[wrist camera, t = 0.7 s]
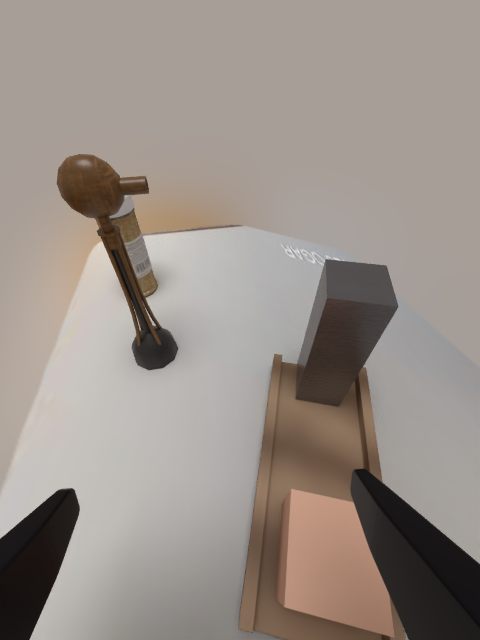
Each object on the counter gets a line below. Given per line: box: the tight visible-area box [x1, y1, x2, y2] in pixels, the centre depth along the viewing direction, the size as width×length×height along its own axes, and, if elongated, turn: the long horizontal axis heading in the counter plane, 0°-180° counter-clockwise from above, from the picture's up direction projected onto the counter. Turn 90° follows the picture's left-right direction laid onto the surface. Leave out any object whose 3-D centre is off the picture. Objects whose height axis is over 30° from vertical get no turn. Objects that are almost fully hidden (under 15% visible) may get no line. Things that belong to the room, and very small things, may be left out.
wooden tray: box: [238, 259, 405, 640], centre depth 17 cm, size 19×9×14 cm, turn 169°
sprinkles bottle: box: [95, 195, 157, 297], centre depth 34 cm, size 5×5×13 cm
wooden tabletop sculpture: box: [57, 154, 178, 370], centre depth 24 cm, size 6×5×20 cm
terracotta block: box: [275, 489, 395, 638], centre depth 16 cm, size 5×5×5 cm
